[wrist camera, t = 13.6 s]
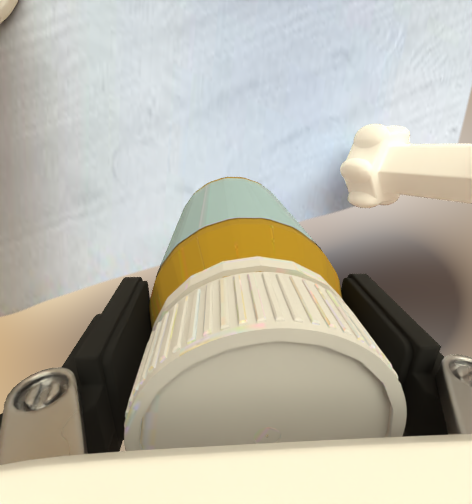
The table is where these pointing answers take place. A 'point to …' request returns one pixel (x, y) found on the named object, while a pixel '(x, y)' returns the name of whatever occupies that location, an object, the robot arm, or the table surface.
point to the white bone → (404, 168)
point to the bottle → (254, 336)
